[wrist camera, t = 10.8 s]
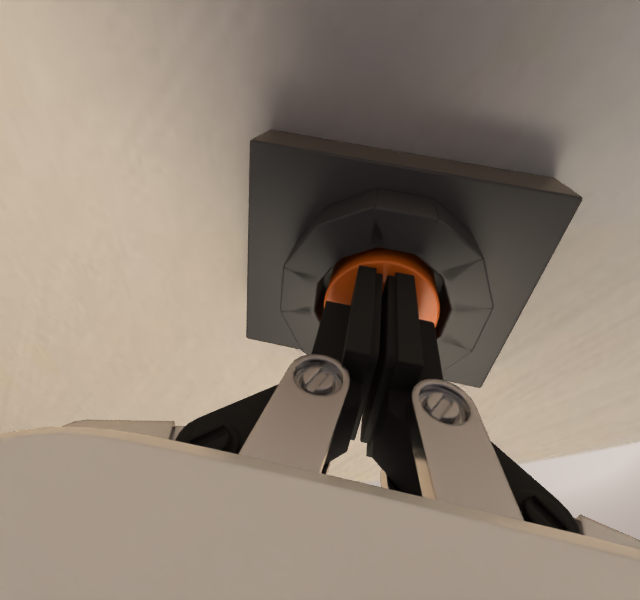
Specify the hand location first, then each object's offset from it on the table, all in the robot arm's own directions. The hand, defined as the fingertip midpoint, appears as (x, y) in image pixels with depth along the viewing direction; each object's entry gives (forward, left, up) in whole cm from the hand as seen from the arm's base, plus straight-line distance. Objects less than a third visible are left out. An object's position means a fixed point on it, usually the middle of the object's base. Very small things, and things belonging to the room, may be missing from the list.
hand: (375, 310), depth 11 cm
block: (0, 0, -4) cm, 4 cm away
